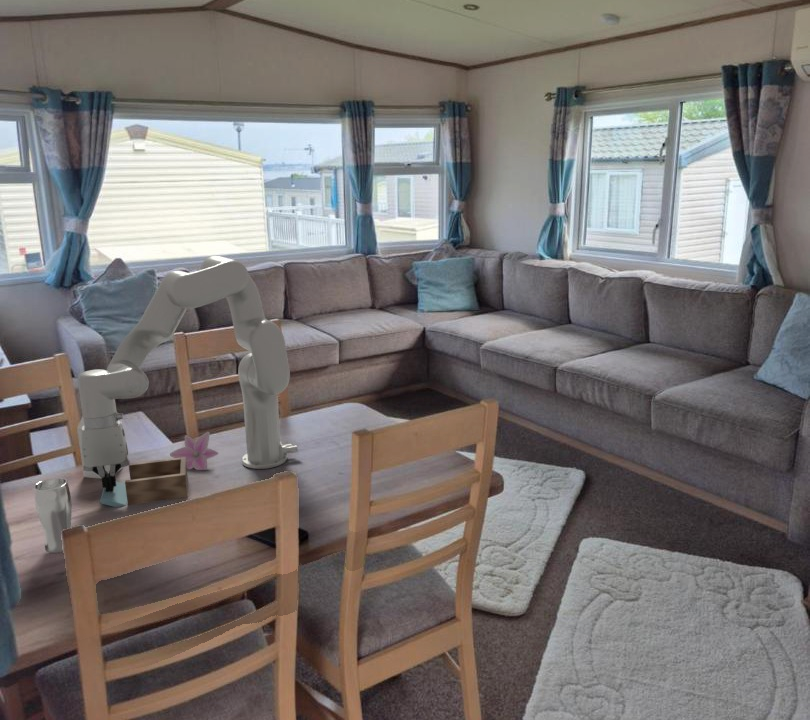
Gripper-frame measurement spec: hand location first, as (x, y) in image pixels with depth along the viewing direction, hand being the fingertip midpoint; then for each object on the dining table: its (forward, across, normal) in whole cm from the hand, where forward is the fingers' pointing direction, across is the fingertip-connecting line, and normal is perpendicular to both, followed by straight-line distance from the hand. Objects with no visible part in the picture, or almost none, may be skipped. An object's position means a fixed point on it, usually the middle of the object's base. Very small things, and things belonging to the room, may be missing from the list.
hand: (110, 489), depth 173 cm
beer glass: (+4, +9, +20) cm, 22 cm away
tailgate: (+2, -4, 0) cm, 5 cm away
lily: (+4, -21, -14) cm, 25 cm away
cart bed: (+3, -11, 0) cm, 12 cm away
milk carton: (+4, +4, -17) cm, 18 cm away
